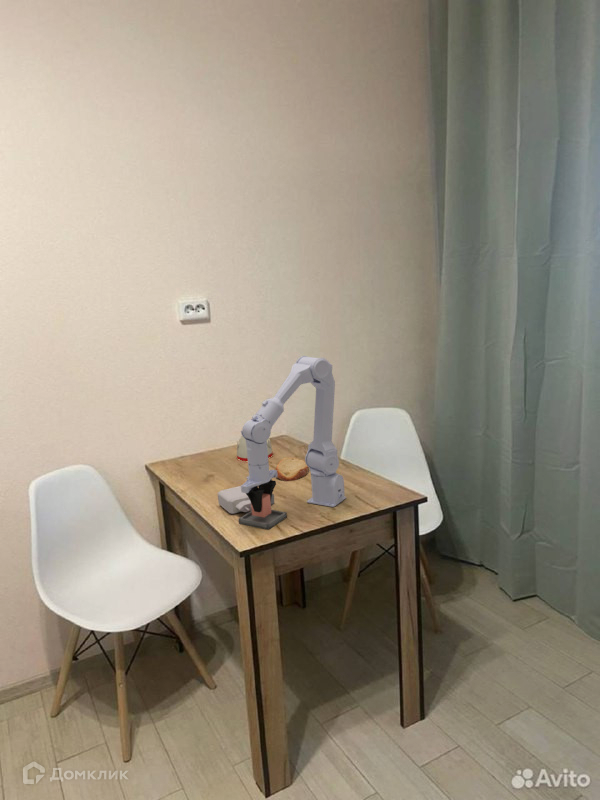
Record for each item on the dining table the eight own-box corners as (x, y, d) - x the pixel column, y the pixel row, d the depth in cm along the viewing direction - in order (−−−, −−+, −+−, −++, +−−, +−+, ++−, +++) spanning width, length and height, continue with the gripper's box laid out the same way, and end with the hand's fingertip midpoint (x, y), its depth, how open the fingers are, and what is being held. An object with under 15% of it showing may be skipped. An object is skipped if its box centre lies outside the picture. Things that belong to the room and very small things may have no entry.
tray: (287, 517, 166) (286, 512, 166) (268, 529, 159) (268, 524, 158) (258, 511, 172) (257, 507, 171) (239, 523, 164) (238, 518, 164)
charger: (237, 521, 165) (218, 506, 178) (266, 513, 170) (246, 499, 183) (236, 505, 165) (217, 491, 178) (265, 498, 169) (245, 484, 182)
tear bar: (274, 503, 177) (273, 494, 177) (262, 510, 172) (262, 500, 172) (271, 502, 178) (270, 493, 177) (259, 509, 173) (258, 500, 173)
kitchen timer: (234, 463, 220) (231, 424, 217) (239, 452, 234) (236, 416, 231) (271, 461, 219) (268, 422, 216) (274, 450, 233) (271, 414, 230)
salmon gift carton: (271, 512, 165) (269, 494, 164) (264, 517, 162) (262, 498, 161) (259, 510, 168) (258, 492, 166) (252, 515, 165) (250, 496, 163)
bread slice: (290, 461, 219) (289, 451, 219) (325, 469, 207) (325, 459, 206) (254, 474, 207) (253, 464, 206) (289, 484, 195) (288, 473, 194)
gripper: (262, 453, 170) (265, 497, 173) (230, 468, 158) (234, 515, 161) (281, 456, 166) (285, 501, 169) (251, 472, 154) (255, 520, 157)
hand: (262, 508), depth 164 cm, fingers closed on salmon gift carton, 4 cm apart
